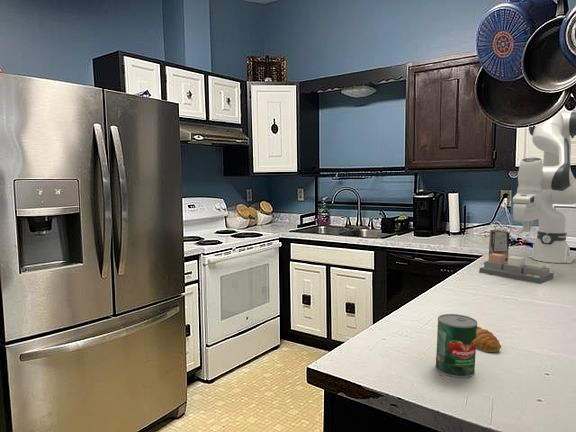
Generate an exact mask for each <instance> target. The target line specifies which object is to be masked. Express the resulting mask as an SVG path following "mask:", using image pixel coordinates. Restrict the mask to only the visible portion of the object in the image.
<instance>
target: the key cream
mask: <svg viewBox="0 0 576 432" xmlns="http://www.w3.org/2000/svg"><path fill="white" fill-rule="evenodd" d="M525 262H526V257H522V256H516V255H512V256H508V265H512V266H518V267H521V266H525V265H526V264H525Z"/></svg>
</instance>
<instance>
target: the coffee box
mask: <svg viewBox="0 0 576 432" xmlns="http://www.w3.org/2000/svg"><path fill="white" fill-rule="evenodd" d="M488 243H489V245H488V255H489V254H493V253H496V254H503V255H505V261H506V262H508V257H509V249H510V248H509V247H510V232H509V231H507V230H504V229H503V230H502V229H490V230H489V242H488Z"/></svg>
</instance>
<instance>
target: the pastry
mask: <svg viewBox="0 0 576 432" xmlns="http://www.w3.org/2000/svg"><path fill="white" fill-rule="evenodd" d="M501 348H502V345H501V343H500V340H499V339H498V338H497V337H496V336H495V335H494V333H493V332H491V331H489V330H488V329H486V328H482V327H480V326H478V325H477V336H476V349H478V350H480V351H482V352H487V353H493V352H500V350H501Z"/></svg>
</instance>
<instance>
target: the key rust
mask: <svg viewBox="0 0 576 432" xmlns="http://www.w3.org/2000/svg"><path fill="white" fill-rule="evenodd" d="M488 260H489V262H494V263H500V264H501V263H504V262H505V255H503V254H496V253H493V254H489V253H488Z"/></svg>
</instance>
